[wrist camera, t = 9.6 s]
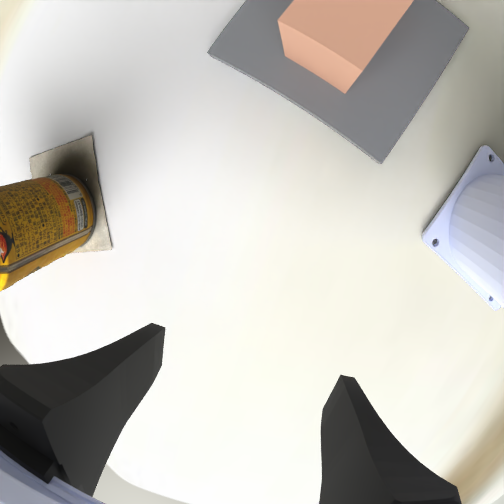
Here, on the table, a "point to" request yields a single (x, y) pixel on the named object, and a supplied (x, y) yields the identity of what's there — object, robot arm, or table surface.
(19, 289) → the table surface
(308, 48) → the block
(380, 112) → the plate
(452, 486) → the robot arm
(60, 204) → the condiment
